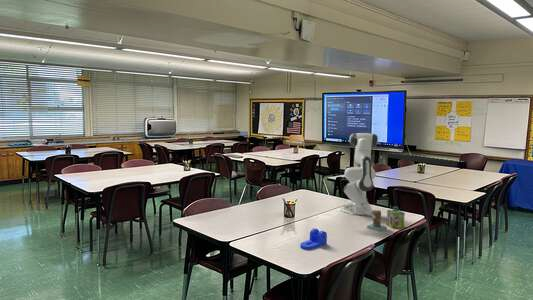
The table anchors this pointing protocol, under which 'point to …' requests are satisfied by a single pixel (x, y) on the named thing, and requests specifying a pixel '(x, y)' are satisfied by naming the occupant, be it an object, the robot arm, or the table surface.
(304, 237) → the table surface
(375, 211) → the walnut block
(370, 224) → the teal pad
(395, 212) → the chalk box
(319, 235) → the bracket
